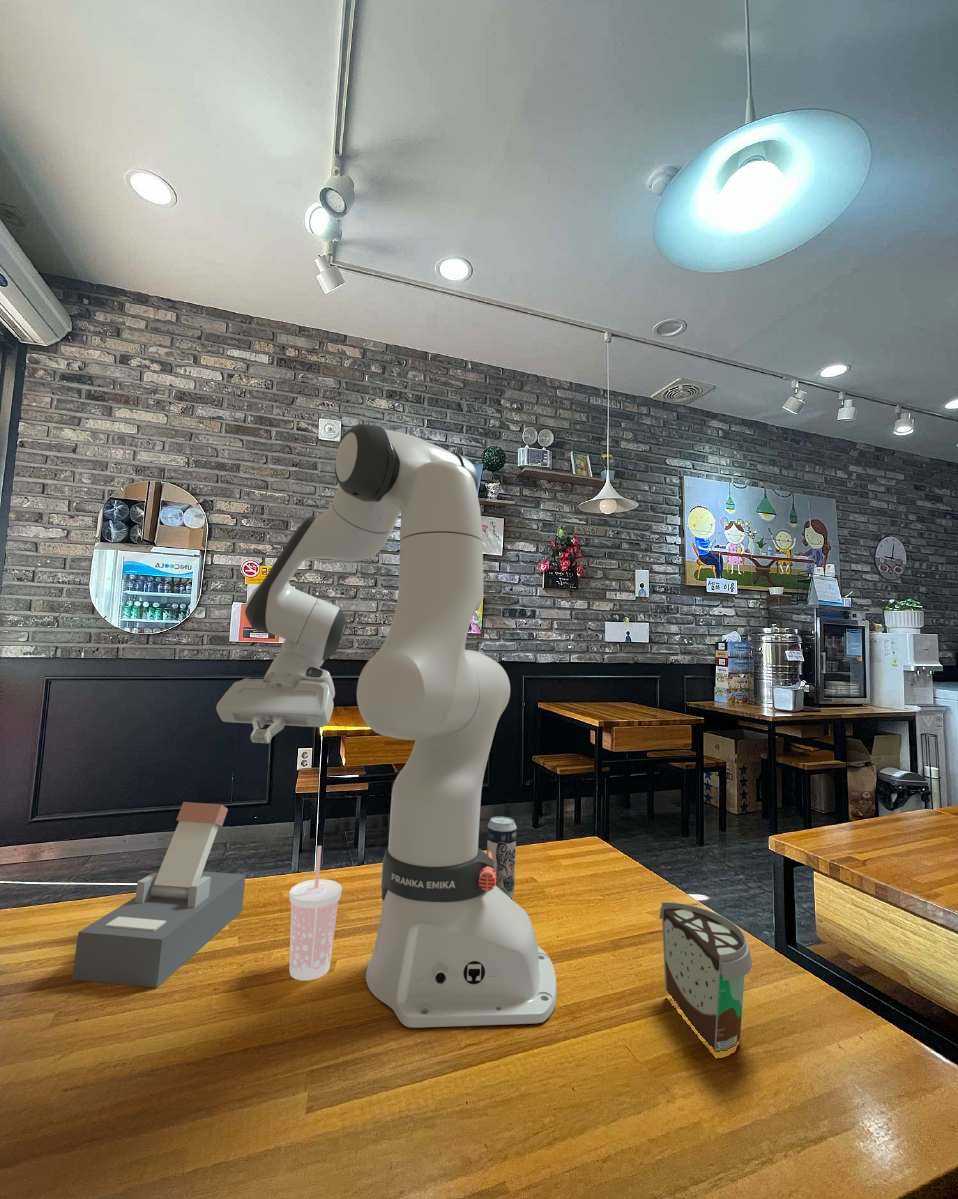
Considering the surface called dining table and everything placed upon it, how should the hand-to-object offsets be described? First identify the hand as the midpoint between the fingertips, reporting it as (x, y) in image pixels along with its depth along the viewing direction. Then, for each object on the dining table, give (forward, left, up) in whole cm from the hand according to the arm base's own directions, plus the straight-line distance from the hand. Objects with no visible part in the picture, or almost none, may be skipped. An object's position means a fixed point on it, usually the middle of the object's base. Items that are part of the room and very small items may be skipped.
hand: (259, 740), depth 88 cm
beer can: (-42, -1, -23) cm, 48 cm away
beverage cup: (-20, +22, -23) cm, 38 cm away
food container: (-66, +25, -23) cm, 74 cm away
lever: (0, +19, -16) cm, 25 cm away
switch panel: (0, +19, -22) cm, 30 cm away
